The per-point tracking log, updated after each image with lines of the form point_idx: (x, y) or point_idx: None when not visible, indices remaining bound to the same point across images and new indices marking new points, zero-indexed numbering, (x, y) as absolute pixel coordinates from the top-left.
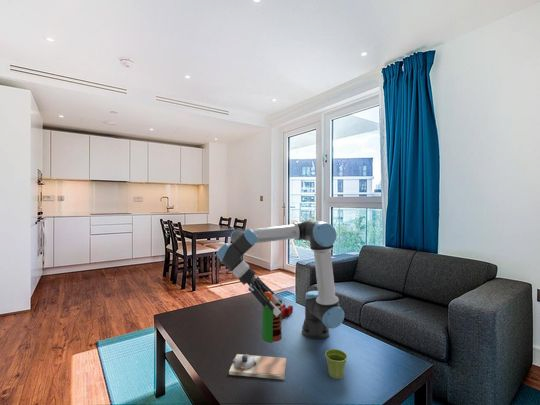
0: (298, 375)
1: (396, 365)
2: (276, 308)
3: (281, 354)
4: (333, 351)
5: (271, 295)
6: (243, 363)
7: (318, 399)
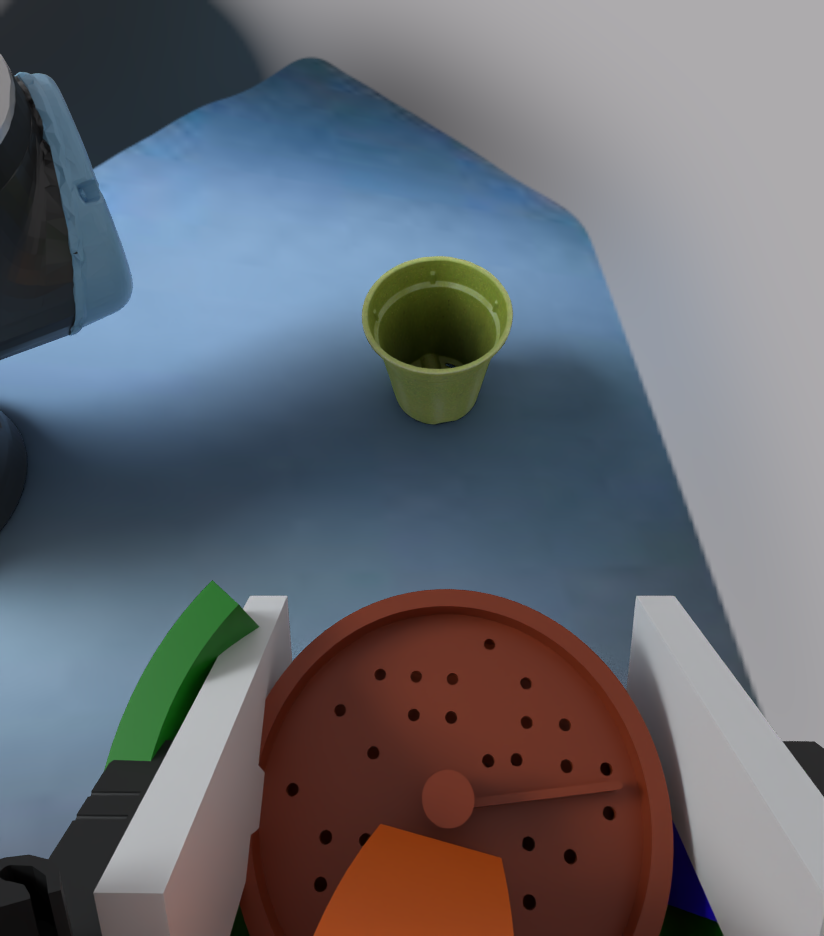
0: None
1: (320, 142)
2: (731, 681)
3: None
4: (372, 331)
5: (426, 928)
6: None
7: (672, 487)
